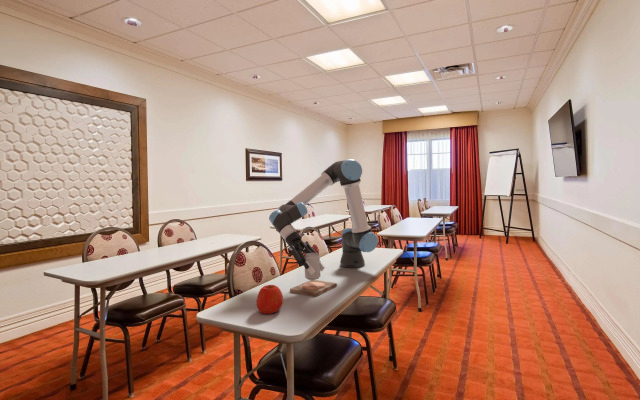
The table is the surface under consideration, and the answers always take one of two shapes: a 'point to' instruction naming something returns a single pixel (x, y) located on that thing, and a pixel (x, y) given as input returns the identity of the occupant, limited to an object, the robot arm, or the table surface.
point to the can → (313, 265)
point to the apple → (269, 299)
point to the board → (313, 287)
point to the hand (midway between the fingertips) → (318, 271)
